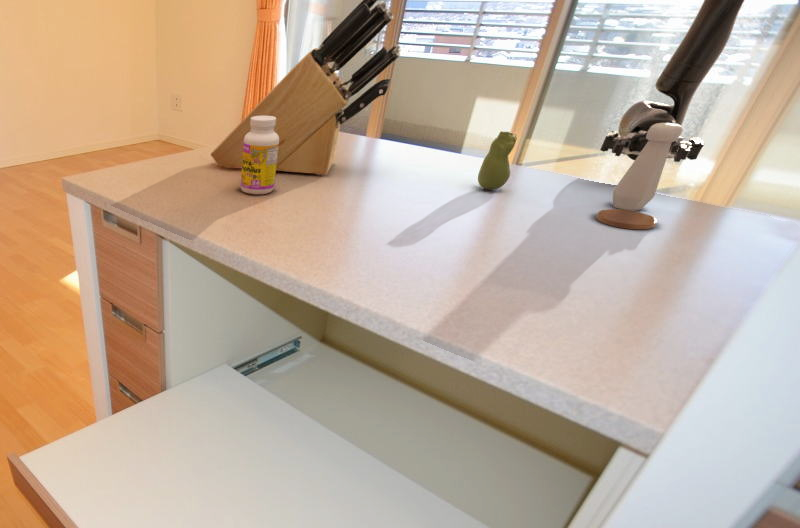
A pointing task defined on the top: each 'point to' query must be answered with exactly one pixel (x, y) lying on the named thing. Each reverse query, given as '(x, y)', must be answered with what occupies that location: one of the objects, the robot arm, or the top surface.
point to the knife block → (318, 96)
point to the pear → (497, 162)
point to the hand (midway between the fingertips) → (649, 152)
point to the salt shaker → (646, 168)
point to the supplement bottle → (260, 156)
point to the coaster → (626, 219)
